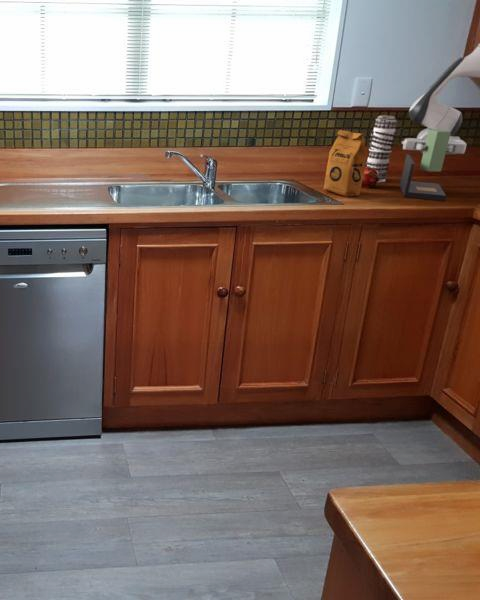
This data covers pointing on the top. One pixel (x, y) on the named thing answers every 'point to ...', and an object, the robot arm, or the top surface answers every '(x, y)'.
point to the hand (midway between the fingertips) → (435, 148)
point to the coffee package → (346, 164)
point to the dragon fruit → (369, 177)
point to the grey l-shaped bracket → (419, 185)
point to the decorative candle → (381, 145)
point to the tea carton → (435, 150)
